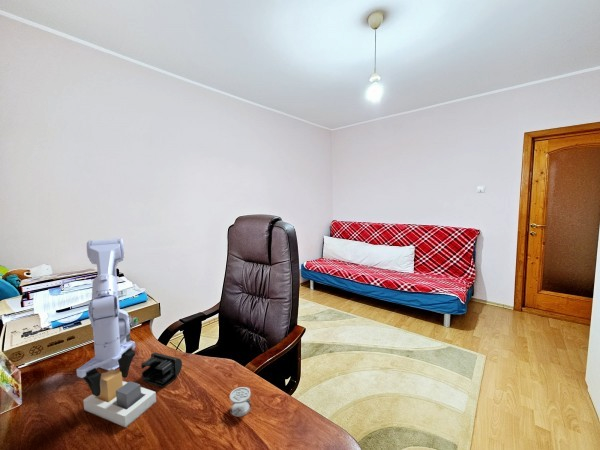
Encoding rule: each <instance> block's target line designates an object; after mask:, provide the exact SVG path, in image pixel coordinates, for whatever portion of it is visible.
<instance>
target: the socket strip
mask: <svg viewBox="0 0 600 450" xmlns="http://www.w3.org/2000/svg"><path fill="white" fill-rule="evenodd" d="M122 384H123V386H122V387H121V388H119V389H118V390H116V397H115V398H114V399H112V400H111V401H110V402H105V401H103V400H100V399H99V396H95V395H93V394H90V395H89V396H87V397H86V398H84V399H83V410H84V411H85V412H88V413H90V414H92V415H94V416H97V417H99V418H102V419H104V420H107V421H109V422H111V423H114V424H115V425H116V424H117V425H119V426H121V427H123V428H127V427H129V425H131V424H132V423H133V422H134V421H136V419H138V418H139V417H140V416H141V415H142V414H143V413H145V412H146V411H147V410H148V409H150V407H152V406H153V405H154V404H155V403H157V393H156V391H154V390H151V389H148V388H145V387H142V385H141V384H140V383H138V382H134V381H131V380H129V381H124V380H122Z"/></svg>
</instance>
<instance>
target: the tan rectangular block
mask: <svg viewBox="0 0 600 450" xmlns="http://www.w3.org/2000/svg"><path fill="white" fill-rule="evenodd" d="M122 381H123V377H122V372H120V370H117V369H115V370H114V369H111V370H106V372H104V373H102V374H101V379H100V390H101V392H100V395H99V399H100V400H103V401H105V402H110V401H111V400H112V399H114V398H115V397H116V390H118V389H119V388H121V387H122V386H123V384H122Z"/></svg>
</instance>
